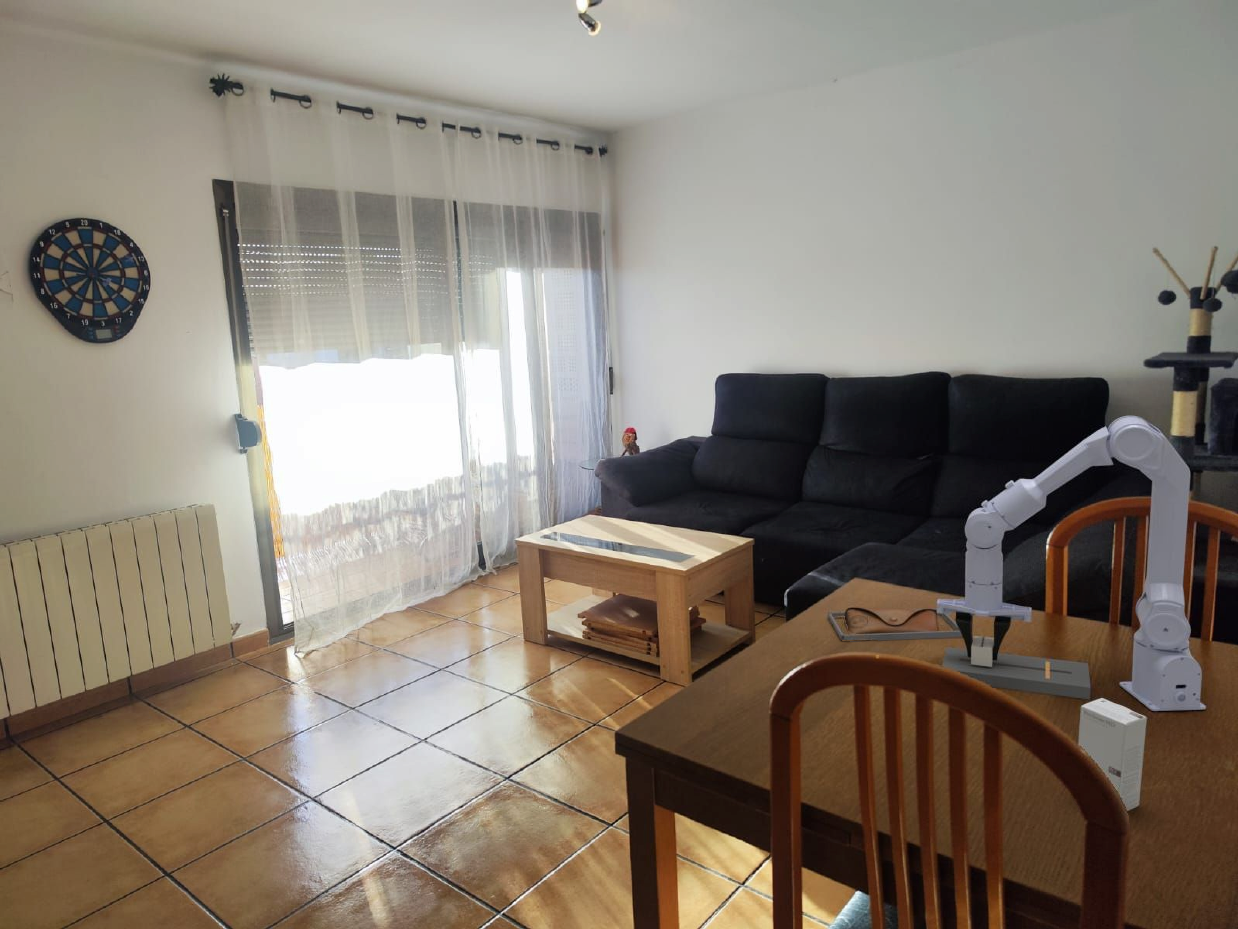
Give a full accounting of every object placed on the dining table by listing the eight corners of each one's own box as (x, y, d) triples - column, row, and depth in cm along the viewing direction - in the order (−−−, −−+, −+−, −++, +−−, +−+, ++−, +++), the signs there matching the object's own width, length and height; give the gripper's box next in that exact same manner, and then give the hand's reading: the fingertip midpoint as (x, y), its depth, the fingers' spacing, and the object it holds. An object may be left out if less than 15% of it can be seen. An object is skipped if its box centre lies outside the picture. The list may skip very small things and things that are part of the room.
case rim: (964, 637, 158) (964, 631, 158) (841, 641, 160) (841, 635, 160) (941, 613, 171) (941, 608, 171) (828, 618, 173) (828, 612, 172)
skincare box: (1073, 793, 107) (1076, 704, 105) (1096, 783, 109) (1100, 696, 107) (1119, 817, 101) (1123, 724, 99) (1143, 807, 103) (1148, 715, 101)
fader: (993, 655, 144) (993, 637, 143) (991, 667, 139) (992, 648, 139) (973, 653, 145) (973, 635, 145) (971, 664, 141) (971, 645, 140)
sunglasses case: (847, 637, 162) (845, 602, 164) (845, 642, 168) (843, 609, 170) (945, 638, 158) (942, 603, 161) (939, 644, 165) (936, 610, 167)
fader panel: (1087, 674, 140) (1087, 663, 140) (1090, 699, 131) (1090, 687, 131) (947, 657, 150) (947, 646, 149) (940, 680, 141) (940, 668, 141)
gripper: (934, 583, 140) (934, 660, 142) (1031, 591, 133) (1029, 671, 135) (939, 571, 146) (939, 644, 148) (1032, 578, 139) (1030, 655, 142)
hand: (982, 656), depth 142 cm, fingers closed on fader, 3 cm apart
